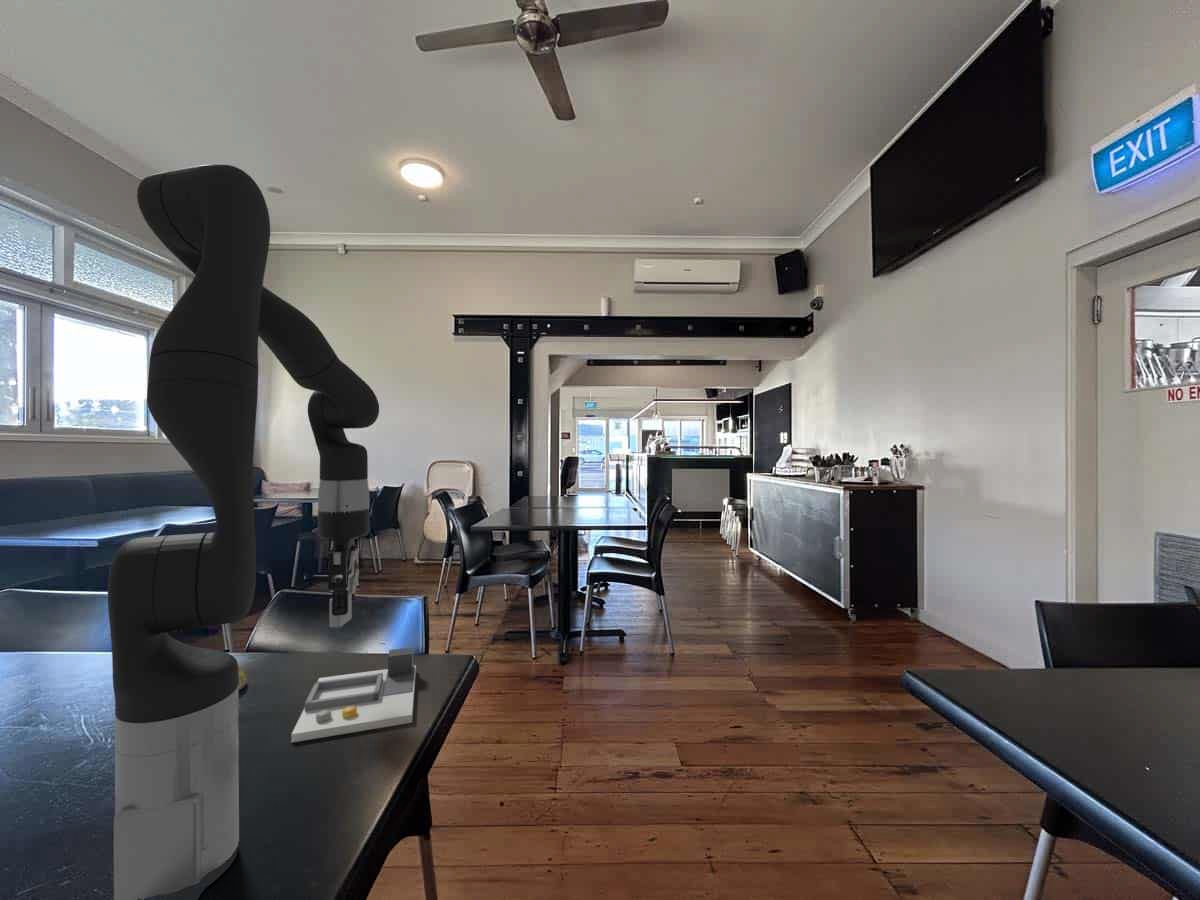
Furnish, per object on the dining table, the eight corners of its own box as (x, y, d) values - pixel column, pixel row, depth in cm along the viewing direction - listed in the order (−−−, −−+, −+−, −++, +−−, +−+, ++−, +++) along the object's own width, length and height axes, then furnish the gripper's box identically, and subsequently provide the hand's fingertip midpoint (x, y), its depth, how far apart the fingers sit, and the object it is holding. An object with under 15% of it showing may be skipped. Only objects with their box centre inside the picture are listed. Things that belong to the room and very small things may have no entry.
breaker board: (411, 722, 75) (411, 706, 75) (291, 742, 70) (291, 725, 70) (415, 671, 92) (415, 658, 92) (319, 684, 87) (319, 671, 87)
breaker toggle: (412, 673, 88) (412, 653, 88) (388, 676, 87) (388, 656, 87) (412, 666, 91) (412, 647, 91) (389, 669, 90) (389, 650, 90)
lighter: (340, 627, 77) (340, 576, 77) (329, 627, 77) (328, 576, 77) (359, 612, 85) (359, 565, 84) (349, 612, 84) (349, 566, 84)
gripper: (364, 511, 75) (364, 618, 75) (373, 502, 89) (373, 593, 89) (308, 513, 73) (308, 624, 73) (326, 503, 86) (327, 597, 86)
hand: (344, 607), depth 81 cm, fingers closed on lighter, 7 cm apart
